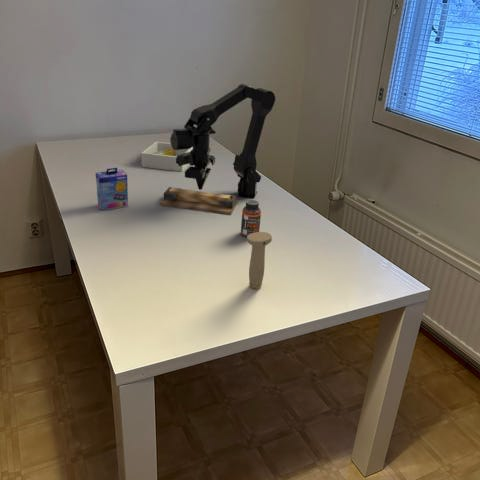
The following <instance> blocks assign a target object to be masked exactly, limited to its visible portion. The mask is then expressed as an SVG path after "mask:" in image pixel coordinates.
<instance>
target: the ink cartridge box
mask: <svg viewBox="0 0 480 480" xmlns="http://www.w3.org/2000/svg"><path fill="white" fill-rule="evenodd" d="M95 181H96V183H95V184H96V195H97V206H98V207H99V209H100V211H106V210H113V209H121V208H128V207H129V197H128V196H129V193H128V192H129V191H128V187H129V186H128V174H127V172H125V170H124V169H118V167H112V168H106V170H104V171H98V172H95Z"/></svg>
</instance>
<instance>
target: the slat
mask: <svg viewBox="0 0 480 480" xmlns="http://www.w3.org/2000/svg"><path fill="white" fill-rule="evenodd" d="M177 188H178V187H172V188H171V189H170V190H169V193H175V194H177V199H178V200H185V201H193V202H200V203H208V204H215V205H220V199H221V200H229V201H230V197H231V195H232V194H227V195H224V194H223V193H222V194H221V193H215V192H208V191H207V192H206V191H202V190H200V191H198V190H194V189H193V190H192V189H183V188H180V189H177Z"/></svg>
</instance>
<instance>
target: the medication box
mask: <svg viewBox="0 0 480 480" xmlns="http://www.w3.org/2000/svg"><path fill="white" fill-rule="evenodd" d="M152 154H160V155H168V156H174V150H173V149H167V150H163V151H159V152H155V153H152Z"/></svg>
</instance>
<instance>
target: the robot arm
mask: <svg viewBox="0 0 480 480" xmlns="http://www.w3.org/2000/svg"><path fill="white" fill-rule="evenodd" d="M246 99H251V102H250V107H251V111H252V114H251V118H250V120H249V125H248V129H247V133H246V137H245V139H244V144H243V148H242V151H241V152H240V153H239V154H235V156H234V161H233V164H232V165H233V171H234V172H235V173H236V175H237V176H236V177H238V178H240V179H239V181H238V182H237V197H241V198H249V199H255V198H256V195H257V194H258V191H257V187H258V183H260V182H261V180H262V176H261V175H260V174H259V172H258V171H257V164H258V163H257V157H256V153H257V150H258V147H259V143H260V139H261V137H262V136H261V135H262V132H263V128H264V125H265V120H266V118H267V116H268V115H269V114H270V113H271V111H272V110H273V107H274V105H275V103H276V95H275V93H274V92H273V91H272V90H269V89H265V88H263V87H258V88H254V87H251V86H250V85H248V84H244V83H241V84H239V85H238V86H237V87H236V88H234V89H233V90H231V91H229V92H228V93H226V94H224V95H223V96H222V97H220V98H219V99H217V100H216V101H214V102H212V103H209V104H206V105H205V104H204V105H202V106H198V107H196V108H194V109H192V111H191V113H190V117H189V118H188V120H187V121H186V122H185V124H184V125H183V128H173V129H172V133H171V135H170V139H169V143H171V146H172V148H173V150H182V149H190V148H191V147H193V149H192V150H191V151H190V152H187V153H183V154H180V155H178V156H177V157H176V163H177V164H178V165H179V166H182V165H185V164H189V163H190V164H189V167H187V168H186V169H185V171H184V178H186V179H187V178H188V179H194V180H195V182H196V185H197V189H198V190H200V191H202V189H203V188H204V186H205V183H206V181H207V178H208V176H209V174H210V172H211V171H212V169H211V168H210V167H208V166H209V165H210V164H211V165H212V166H214V165H215V164H216V157H215V156H214V155H210V153H211V151H212V148H210V137H211V135H213V134H216V131H215V129H214V128H213V127H212V126H213V125H214V124H215V123H216V122H217V121H218V119H219V117H220V116H221V115H223V114H224V113H226V112H227V111H229V110H230V109H232V108H234V107H235V106H237V105H238V104H240V103H241V102H243V101H244V100H246Z"/></svg>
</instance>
